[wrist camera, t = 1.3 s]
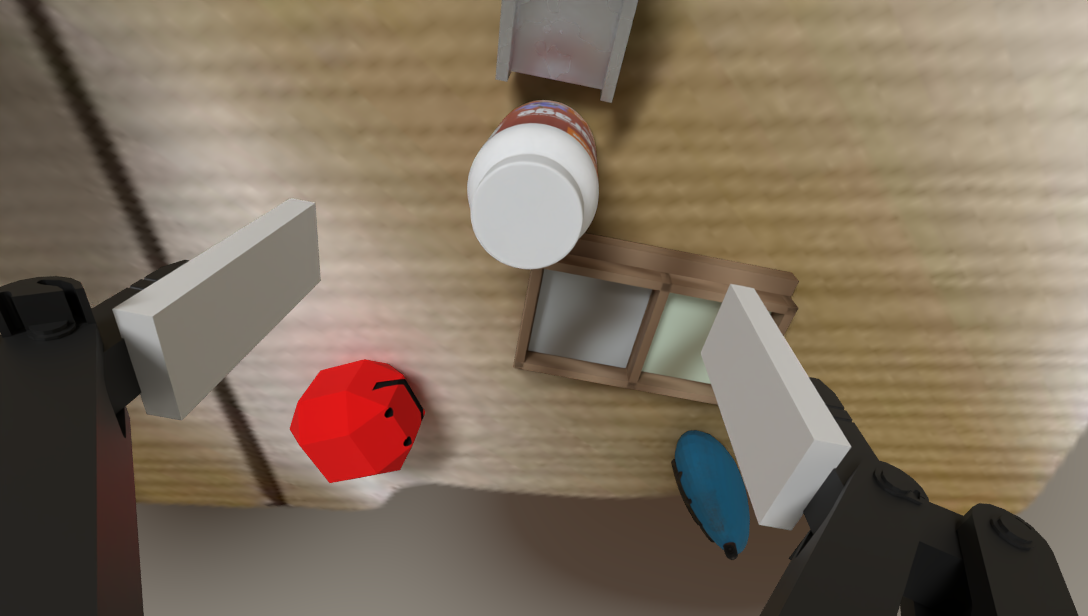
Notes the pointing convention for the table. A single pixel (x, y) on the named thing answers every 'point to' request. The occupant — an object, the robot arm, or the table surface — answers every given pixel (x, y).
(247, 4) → the table surface
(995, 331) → the table surface
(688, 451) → the ornament
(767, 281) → the divided sorting tray
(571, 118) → the pill bottle
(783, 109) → the table surface
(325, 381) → the ball
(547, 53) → the feeder chute
